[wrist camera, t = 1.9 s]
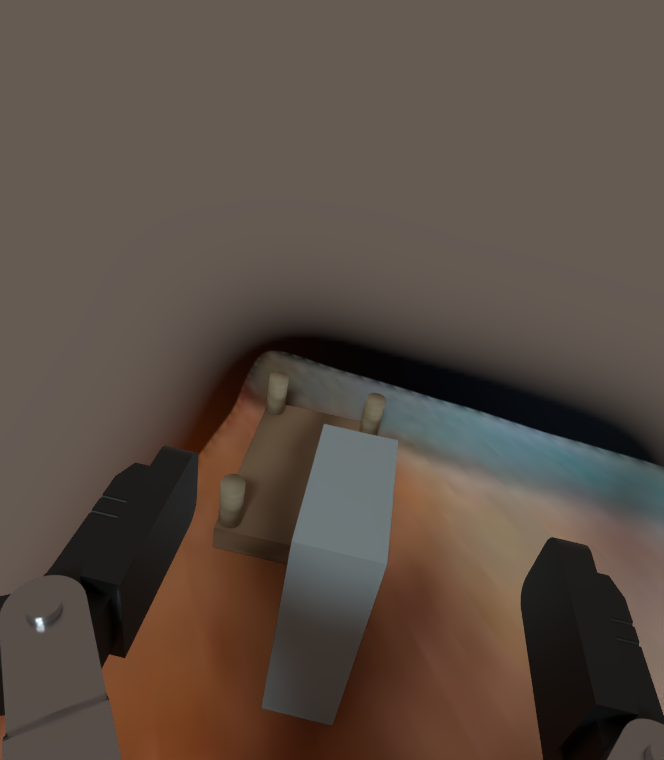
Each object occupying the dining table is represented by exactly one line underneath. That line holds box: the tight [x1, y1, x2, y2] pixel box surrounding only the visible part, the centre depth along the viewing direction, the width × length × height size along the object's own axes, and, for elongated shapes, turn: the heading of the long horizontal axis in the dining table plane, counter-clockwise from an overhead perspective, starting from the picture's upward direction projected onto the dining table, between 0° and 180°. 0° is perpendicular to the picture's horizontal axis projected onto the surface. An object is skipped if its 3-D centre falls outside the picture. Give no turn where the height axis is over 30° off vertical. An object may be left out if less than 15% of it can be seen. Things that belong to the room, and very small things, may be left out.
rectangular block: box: [261, 424, 398, 726], centre depth 30 cm, size 4×8×14 cm, turn 171°
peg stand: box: [213, 372, 386, 564], centre depth 43 cm, size 10×15×6 cm, turn 171°
